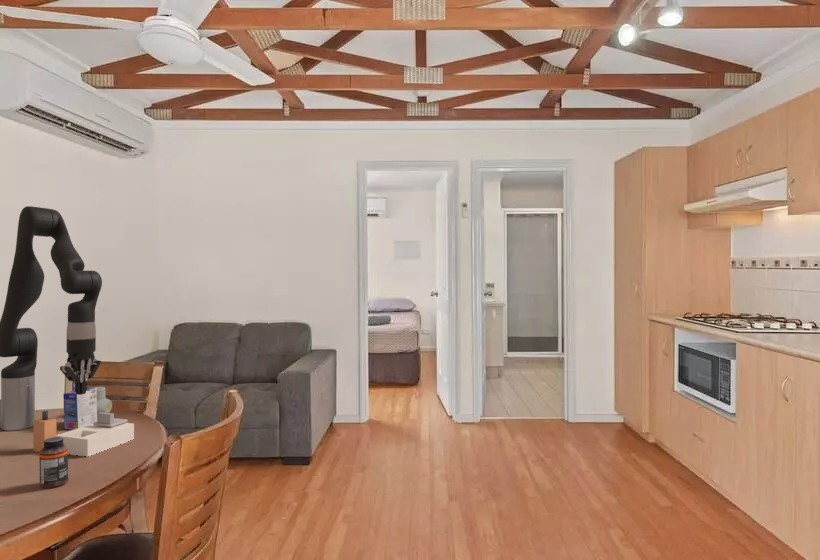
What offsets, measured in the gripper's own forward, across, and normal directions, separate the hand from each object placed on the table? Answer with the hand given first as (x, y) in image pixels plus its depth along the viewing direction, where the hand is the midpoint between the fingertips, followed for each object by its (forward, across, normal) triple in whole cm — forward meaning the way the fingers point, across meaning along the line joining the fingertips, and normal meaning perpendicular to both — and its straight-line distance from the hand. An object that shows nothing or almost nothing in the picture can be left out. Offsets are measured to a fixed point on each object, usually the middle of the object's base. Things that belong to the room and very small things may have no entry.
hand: (80, 394), depth 164 cm
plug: (+16, +6, -7) cm, 18 cm away
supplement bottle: (+16, +26, +19) cm, 35 cm away
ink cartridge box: (+16, -17, -18) cm, 30 cm away
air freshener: (+16, -29, -24) cm, 41 cm away
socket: (+16, -1, +4) cm, 16 cm away
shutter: (+10, -7, +5) cm, 13 cm away
